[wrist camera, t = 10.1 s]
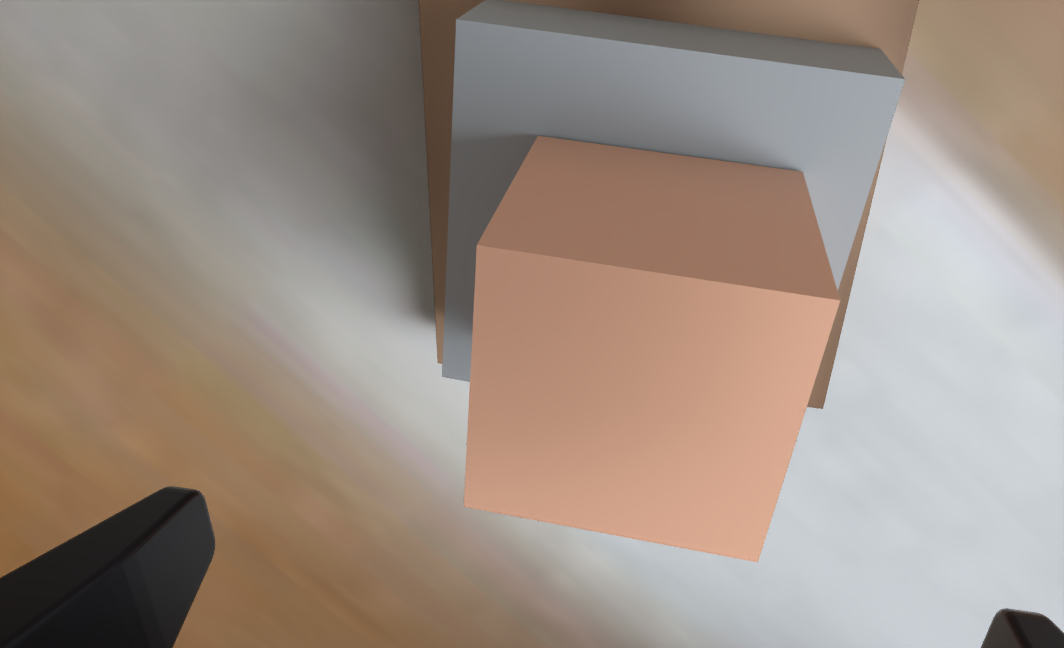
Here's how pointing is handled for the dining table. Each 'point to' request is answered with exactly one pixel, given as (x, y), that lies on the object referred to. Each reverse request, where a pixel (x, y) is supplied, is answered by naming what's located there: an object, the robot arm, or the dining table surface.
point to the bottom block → (730, 3)
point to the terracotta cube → (645, 344)
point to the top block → (653, 115)
